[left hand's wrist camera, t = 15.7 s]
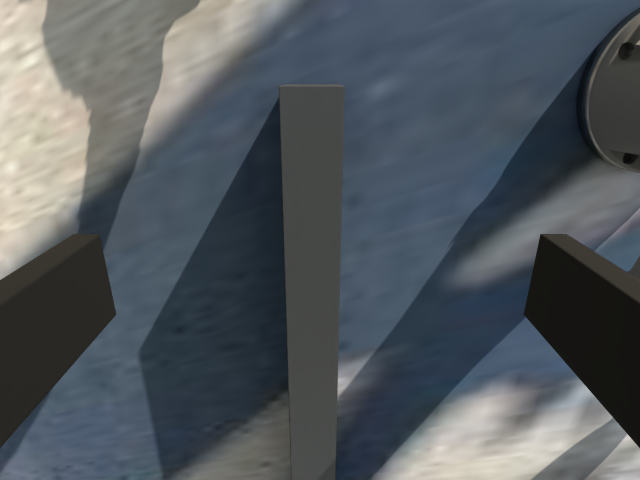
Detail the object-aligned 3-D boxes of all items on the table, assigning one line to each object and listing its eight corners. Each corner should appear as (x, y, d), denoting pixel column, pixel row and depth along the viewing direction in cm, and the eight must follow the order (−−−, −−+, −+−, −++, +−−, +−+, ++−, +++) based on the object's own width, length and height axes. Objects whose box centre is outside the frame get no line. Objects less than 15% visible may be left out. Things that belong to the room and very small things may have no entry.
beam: (285, 84, 38) (278, 85, 30) (338, 84, 38) (344, 85, 30) (297, 513, 59) (294, 577, 51) (330, 513, 59) (332, 576, 52)
